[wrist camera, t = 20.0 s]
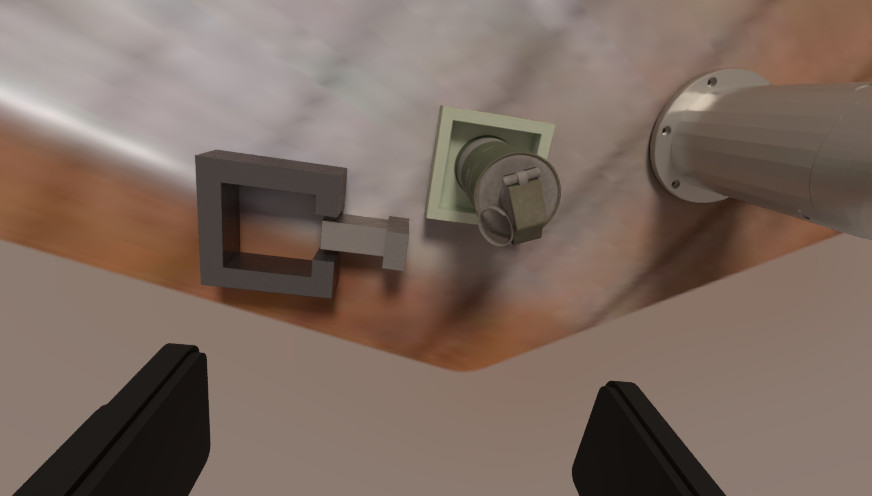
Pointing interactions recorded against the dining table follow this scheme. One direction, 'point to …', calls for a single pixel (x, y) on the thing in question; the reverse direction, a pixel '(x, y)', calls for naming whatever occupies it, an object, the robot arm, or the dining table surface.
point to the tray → (453, 135)
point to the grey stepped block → (368, 237)
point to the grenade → (507, 188)
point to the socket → (222, 223)
